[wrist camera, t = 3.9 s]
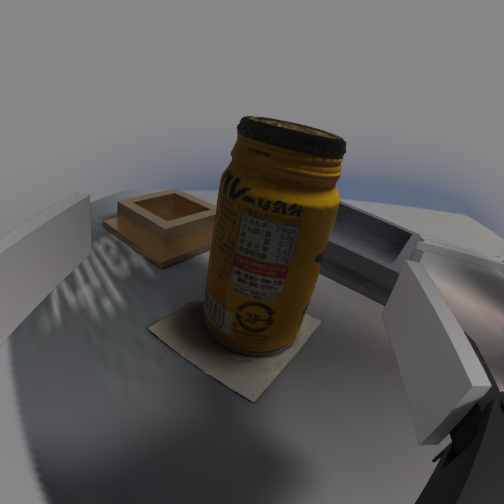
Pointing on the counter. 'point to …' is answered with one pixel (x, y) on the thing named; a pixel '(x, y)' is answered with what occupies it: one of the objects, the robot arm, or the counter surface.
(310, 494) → the counter surface
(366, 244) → the large collar
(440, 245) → the adjustable wrench
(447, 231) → the counter surface
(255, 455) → the counter surface
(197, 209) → the small brown compartment box
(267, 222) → the condiment
